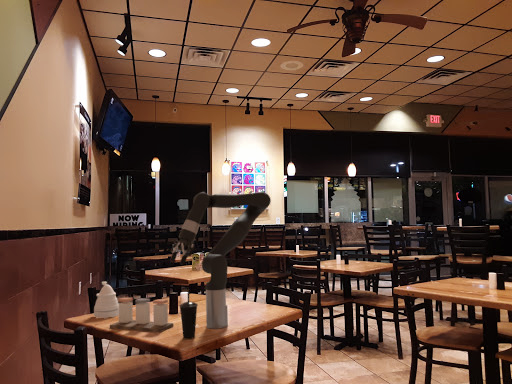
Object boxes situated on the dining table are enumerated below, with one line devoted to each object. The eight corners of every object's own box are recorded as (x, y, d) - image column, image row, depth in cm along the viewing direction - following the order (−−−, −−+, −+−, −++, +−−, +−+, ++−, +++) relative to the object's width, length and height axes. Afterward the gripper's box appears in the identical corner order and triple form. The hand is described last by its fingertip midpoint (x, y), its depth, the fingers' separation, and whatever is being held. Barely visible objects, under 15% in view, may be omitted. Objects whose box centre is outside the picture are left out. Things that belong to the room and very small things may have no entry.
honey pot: (88, 317, 218) (88, 283, 220) (107, 312, 230) (107, 279, 231) (105, 319, 212) (105, 284, 214) (124, 314, 224) (124, 280, 225)
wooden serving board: (173, 326, 194) (173, 323, 194) (159, 332, 183) (159, 329, 183) (125, 322, 204) (125, 319, 204) (109, 328, 194) (109, 324, 194)
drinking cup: (199, 334, 178) (198, 287, 179) (197, 339, 170) (196, 290, 172) (181, 335, 178) (180, 288, 179) (178, 340, 170) (178, 291, 171)
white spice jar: (132, 320, 199) (132, 297, 200) (127, 322, 195) (127, 299, 196) (124, 320, 201) (124, 297, 202) (118, 322, 197) (118, 299, 198)
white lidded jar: (150, 322, 196) (149, 298, 196) (144, 324, 192) (144, 300, 193) (141, 321, 198) (140, 298, 198) (135, 323, 194) (135, 299, 194)
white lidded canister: (167, 323, 192) (167, 299, 193) (162, 325, 188) (162, 301, 189) (158, 322, 194) (158, 299, 195) (153, 325, 190) (153, 300, 191)
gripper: (203, 235, 197) (191, 267, 192) (186, 232, 207) (174, 263, 202) (192, 229, 192) (179, 262, 187) (175, 227, 202) (162, 258, 198)
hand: (176, 262), depth 195 cm, fingers open, 8 cm apart
